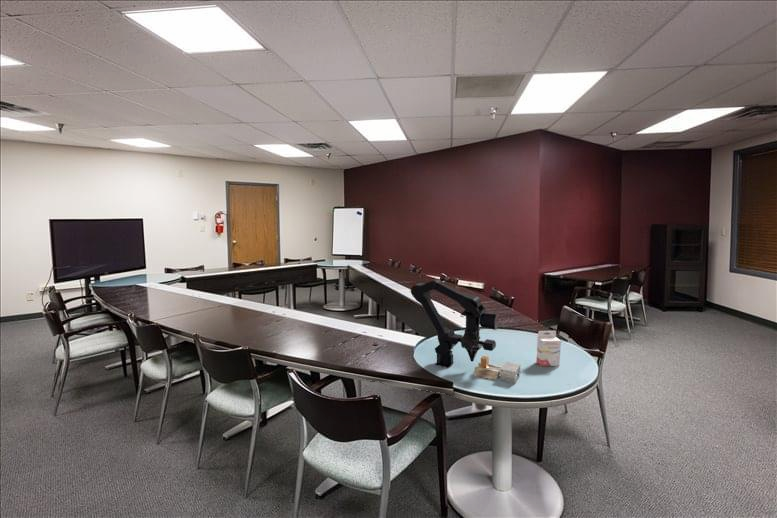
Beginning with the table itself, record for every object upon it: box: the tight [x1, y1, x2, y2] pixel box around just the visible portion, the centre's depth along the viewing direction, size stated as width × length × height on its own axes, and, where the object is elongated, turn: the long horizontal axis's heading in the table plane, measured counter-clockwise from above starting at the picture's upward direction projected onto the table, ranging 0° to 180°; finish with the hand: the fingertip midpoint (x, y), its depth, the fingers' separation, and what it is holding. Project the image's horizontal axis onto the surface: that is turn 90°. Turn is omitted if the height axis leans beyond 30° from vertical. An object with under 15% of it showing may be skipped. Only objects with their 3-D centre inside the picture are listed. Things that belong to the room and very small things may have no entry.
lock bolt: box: [480, 355, 502, 375], centre depth 159 cm, size 8×3×5 cm, turn 59°
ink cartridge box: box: [536, 330, 562, 367], centre depth 167 cm, size 9×5×15 cm, turn 92°
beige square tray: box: [472, 361, 502, 381], centre depth 160 cm, size 10×10×3 cm
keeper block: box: [499, 361, 521, 385], centre depth 155 cm, size 6×8×5 cm
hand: (472, 361), depth 163 cm, fingers closed
